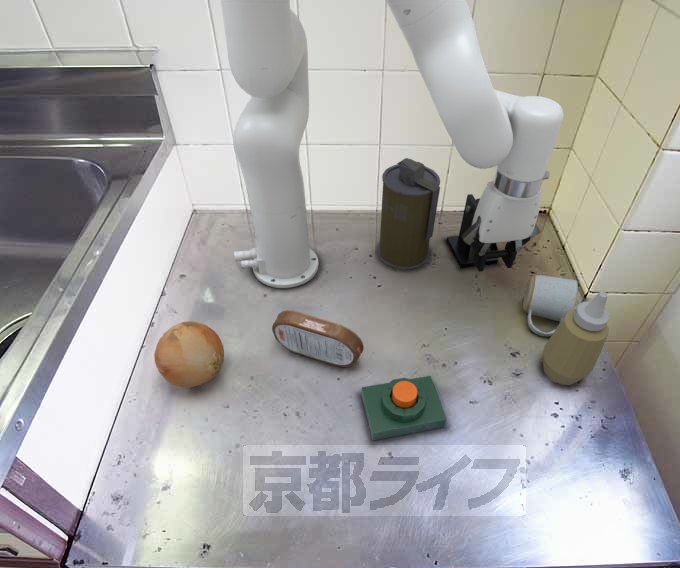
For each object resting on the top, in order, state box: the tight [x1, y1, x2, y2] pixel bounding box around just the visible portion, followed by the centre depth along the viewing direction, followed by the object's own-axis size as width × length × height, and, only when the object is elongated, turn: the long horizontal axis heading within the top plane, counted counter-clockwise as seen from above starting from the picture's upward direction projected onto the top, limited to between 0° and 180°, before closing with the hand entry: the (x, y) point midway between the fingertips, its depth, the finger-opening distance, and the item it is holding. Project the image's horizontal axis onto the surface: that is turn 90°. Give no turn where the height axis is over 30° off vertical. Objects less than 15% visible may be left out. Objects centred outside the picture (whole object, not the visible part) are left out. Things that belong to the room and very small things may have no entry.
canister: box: [377, 157, 441, 270], centre depth 90 cm, size 11×10×20 cm
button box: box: [361, 375, 447, 441], centre depth 70 cm, size 11×8×4 cm
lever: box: [475, 197, 510, 259], centre depth 89 cm, size 12×5×2 cm, turn 13°
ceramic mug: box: [522, 274, 579, 337], centre depth 84 cm, size 11×8×8 cm
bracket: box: [445, 193, 499, 269], centre depth 94 cm, size 9×8×13 cm
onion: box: [153, 320, 225, 388], centre depth 71 cm, size 10×10×10 cm
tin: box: [271, 309, 364, 368], centre depth 75 cm, size 15×3×8 cm, turn 71°
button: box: [392, 381, 417, 408], centre depth 69 cm, size 4×4×2 cm
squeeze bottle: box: [542, 291, 610, 386], centre depth 72 cm, size 8×8×18 cm
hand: (492, 264), depth 89 cm, fingers closed on lever, 5 cm apart
